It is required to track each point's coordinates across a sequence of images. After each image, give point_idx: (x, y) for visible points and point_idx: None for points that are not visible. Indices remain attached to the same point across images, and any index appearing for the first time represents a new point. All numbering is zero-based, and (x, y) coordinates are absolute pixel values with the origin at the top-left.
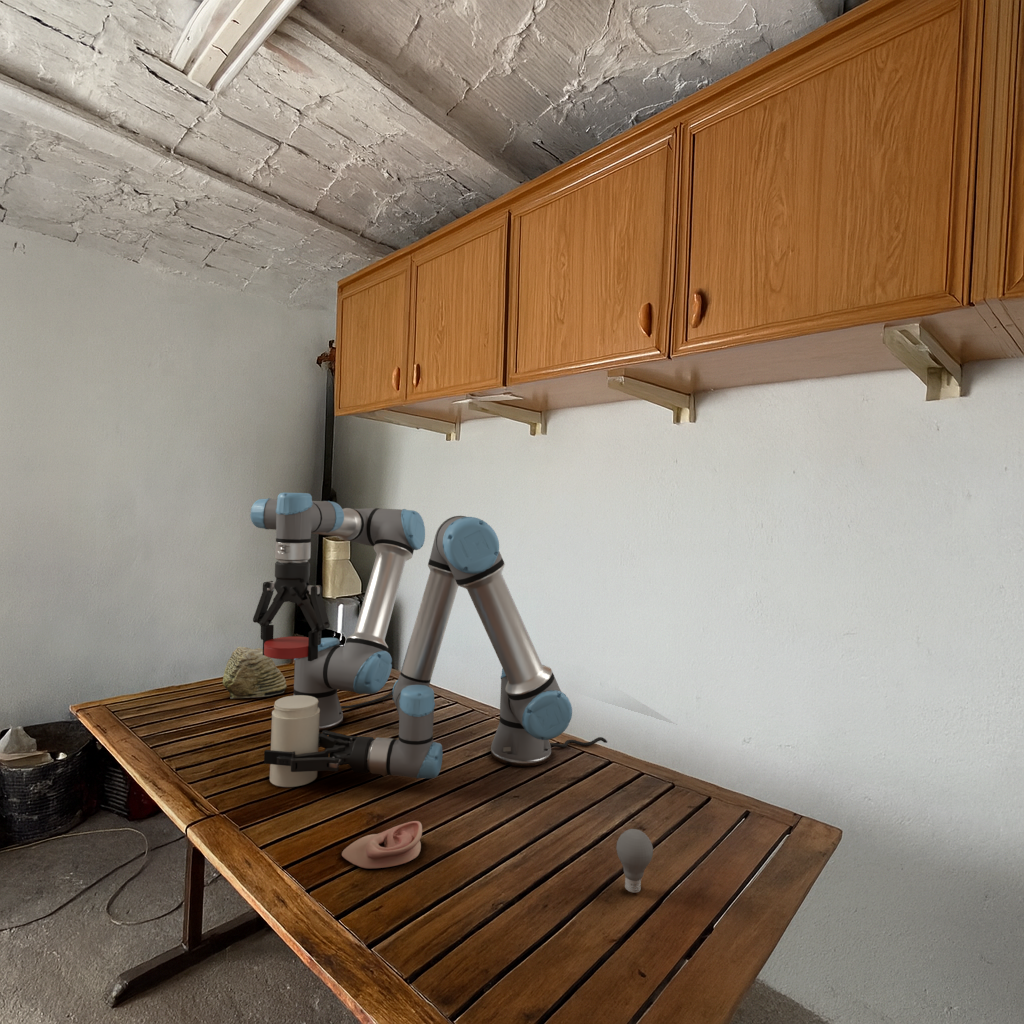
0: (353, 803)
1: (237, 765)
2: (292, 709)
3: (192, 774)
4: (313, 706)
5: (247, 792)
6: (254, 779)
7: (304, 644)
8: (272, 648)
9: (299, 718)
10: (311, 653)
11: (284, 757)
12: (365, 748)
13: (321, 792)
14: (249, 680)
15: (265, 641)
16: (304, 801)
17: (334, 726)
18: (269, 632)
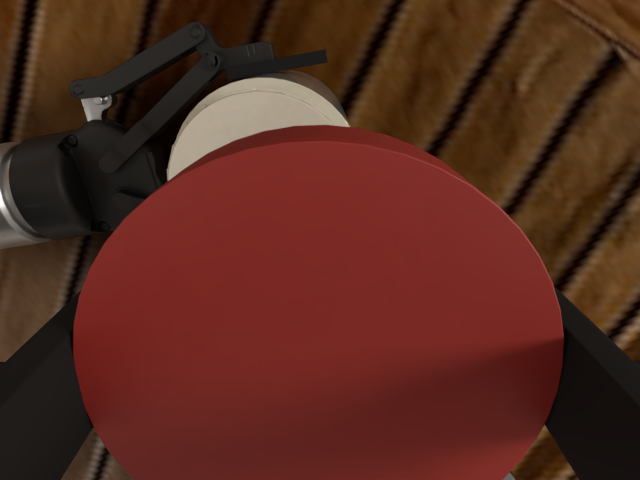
0: (49, 55)
1: (468, 140)
2: (217, 100)
3: (555, 44)
4: (167, 178)
5: (342, 4)
6: (373, 82)
7: (141, 366)
8: (354, 141)
9: (196, 106)
10: (71, 304)
11: (249, 54)
12: (12, 159)
13: (163, 81)
14: None
15: (571, 331)
16: (168, 15)
17: None
18: (605, 440)
